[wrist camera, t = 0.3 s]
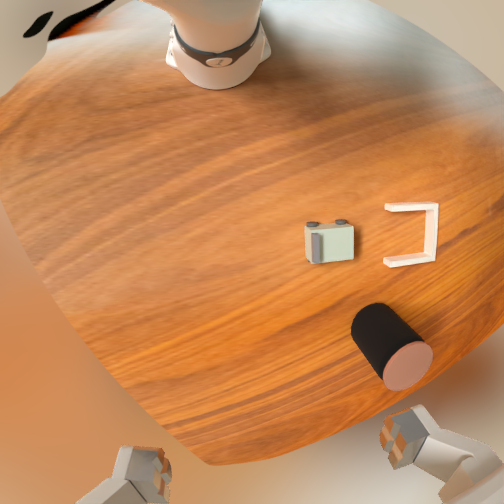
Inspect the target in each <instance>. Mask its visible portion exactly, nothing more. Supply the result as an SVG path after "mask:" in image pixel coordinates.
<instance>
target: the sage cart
mask: <svg viewBox="0 0 504 504" xmlns="http://www.w3.org/2000/svg"><path fill="white" fill-rule="evenodd" d="M305 252H306V258H307V259H308V262H311V263H312V264H317V263H324V262H333V261H341V260H349V259H353V257H354V226H352V225H349V224H347V223H346V220H336V223H329V224H318V222H307V225H305Z"/></svg>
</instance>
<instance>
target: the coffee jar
mask: <svg viewBox="0 0 504 504" xmlns="http://www.w3.org/2000/svg"><path fill="white" fill-rule="evenodd" d="M351 335H352V338H353V340H354V341H355V343H356V344H357V346H358V347H359V349H360V350H361V351H362V353H363V354H364V356H365V357H366V358H367V360H368V361H369V363H370V364H371V366H372V367H373V369H374V370H375V371H376V373H377V374H378V376H379V377H380V378H381V379H382V380H383V381H384V384H385V386H386V387H387V388H389V389H390V390H394V391H399V390H404V389H406V388H409V387H411V386H412V385H414V384H415V383H417V382H418V381H419V380H420V379H421V378H422V377H423V376H424V375H425V373H426V372H427V371H428V369H429V367H430V365H431V363H432V358H433V352H432V348H431V347H430V346H429V345H428V344H427V343H425V342H424V340H423V339H422V338H421V337H420V336H419V335H418V334H417V333H416V332H415V331H414V330H413V329H412V328H411V327H410V326H409V325H408V324H407V323H405V322H404V321H403V320H402V319H401V318H400V317H399V316H398V315H397V314H396V313H395V312H394V311H393V310H391V309H390V308H389V307H388V306H386V305H384V304H377V303H375V304H371V305H368V306H366V307H364V308H363V309H361V310H360V311H359V312H358V313H357V315H356V316H355V318H354V320H353V323H352V326H351Z"/></svg>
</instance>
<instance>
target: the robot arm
mask: <svg viewBox="0 0 504 504" xmlns="http://www.w3.org/2000/svg"><path fill="white" fill-rule="evenodd" d="M139 1H142V2H145V3H148V4H151V5H153V6H156V7H158V8H160V9H162V10H164V11H165V12H167V13H168V14H169V15H170V16H171V25H172V26H173V29H172V31H170V42H169V46H168V51H167V56H166V63H167V65H168V66H170V67H172V68H174V69H177V70H179V71H180V72H182V73H183V75H184V76H185V77H186V78H187V79H188V80H189V81H191V82H192V83H194V84H195V85H197V86H200V87H203V88H207V89H215V90H218V89H226V88H230V87H233V86H236V85H238V84H240V83H242V82H243V81H245V80H246V79H247V78H248V77H249V76H250V75H251V74H252V73H253V72H254V70H255V68H256V67H257V66H258V64H259V63H261V62H262V61H264V60H266V59H267V58H268V57H269V56H270V55H271V48H270V45H269V43H268V40H267V37H266V34H265V32H264V29H263V26H262V24H261V21H260V18H259V14H260V9H261V5H262V1H263V0H139ZM264 46H265V47H264ZM172 55H173V56H172ZM384 424H385V426H384V427H383V428H382V429H381V432H380V442H381V446H382V448H383V450H385V451H386V452H389V456H388V459H389V461H390V463H391V465H392V467H393V469H394V470H395V469H398V468H401V467H404V466H406V465H409V464H411V463H413V464H414V465H416V466H417V467H419V468H421V469H422V470H424V471H426V472H428V473H429V474H431V475H433V476H435V477H436V478H438V479H440V480H442V481H444V482H445V483H446V484H445V485H444V486H443V487H442V489H441V490H440V491H439V493H438V494H439V497H440V498H441V500H442V502H443V503H442V504H504V464H503V463H502V461H501V460H500V459H499V457H498V456H497V455H496V454H495V452H494V451H493V450H492V448H491V447H490V446H489V445H488V444H485V443H482V442H480V441H476V440H474V439H471V438H468V437H466V436H463V435H460V434H457V433H454V432H452V431H449V430H447V429H442V430H441V429H440V427H439V426H438V425H437V423H436V422H435V421H434V420H433V418H432V417H431V415H430V414H429V413H428V412H427V410H426V409H425V408H424V406H423V405H421V404H419V405H416V406H414V407H411V408H408V409H405V410H402V411H400V412H397V413H394V414H391V415H388V416H386V418H385V420H384ZM164 454H165V452H164V451H163V449H162V448H153V447H139V446H128V445H122V446H121V448H120V449H119V453H118V456H117V460H116V463H115V467H114V470H113V474H112V478H107V479H105V480H104V481H103V482H102V483H100V484H99V485H98V486H97V487H96V488H94V489H93V490H92V491H90V492H89V493H88V494H86V495H85V496H84V497H83V498H81V499H80V500H79V501H77V502H76V503H75V504H147V503H161V504H169V497H170V489H169V487H168V486H167V485H168V484H169V482H171V478H172V471H171V465H170V462H169V460H168V459H166V458H165V457H164ZM146 502H147V503H146Z"/></svg>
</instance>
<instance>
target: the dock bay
mask: <svg viewBox="0 0 504 504" xmlns="http://www.w3.org/2000/svg"><path fill="white" fill-rule="evenodd" d="M385 210H389V211H392V212H395V211H413V210H426V227H425V244H424V252H421V253H414V254H407V255H399V256H392V257H384V259H383V263H384V264H386V265H387V266H389V267H390V268H391V267H397V266H404V265H411V264H417V263H423V262H430V261H435V256H436V244H437V229H438V203H434V202H406V203H385Z"/></svg>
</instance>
